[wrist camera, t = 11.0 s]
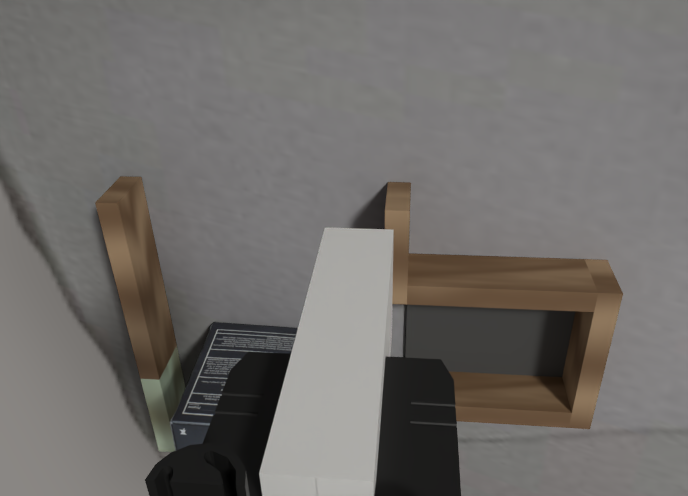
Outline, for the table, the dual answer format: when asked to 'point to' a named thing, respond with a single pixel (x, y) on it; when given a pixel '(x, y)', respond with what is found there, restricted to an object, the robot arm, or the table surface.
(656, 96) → the table surface
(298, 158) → the table surface
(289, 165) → the table surface
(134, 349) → the wooden frame pieces
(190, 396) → the small box
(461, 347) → the mat
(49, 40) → the table surface
